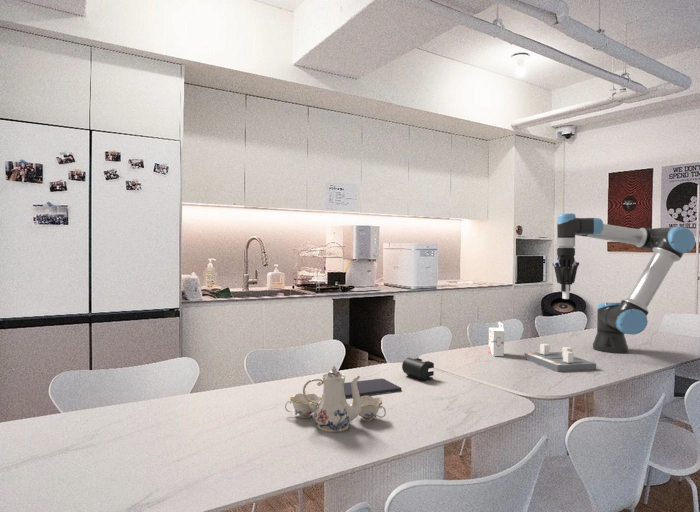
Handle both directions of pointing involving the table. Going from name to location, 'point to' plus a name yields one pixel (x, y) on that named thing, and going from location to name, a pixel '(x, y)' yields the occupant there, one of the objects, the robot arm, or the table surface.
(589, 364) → the switch panel
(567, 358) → the tab
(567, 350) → the tab
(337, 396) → the chinaware
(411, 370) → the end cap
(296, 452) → the table surface
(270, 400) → the table surface
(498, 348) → the ink cartridge box
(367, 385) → the notebook
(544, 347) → the tab
